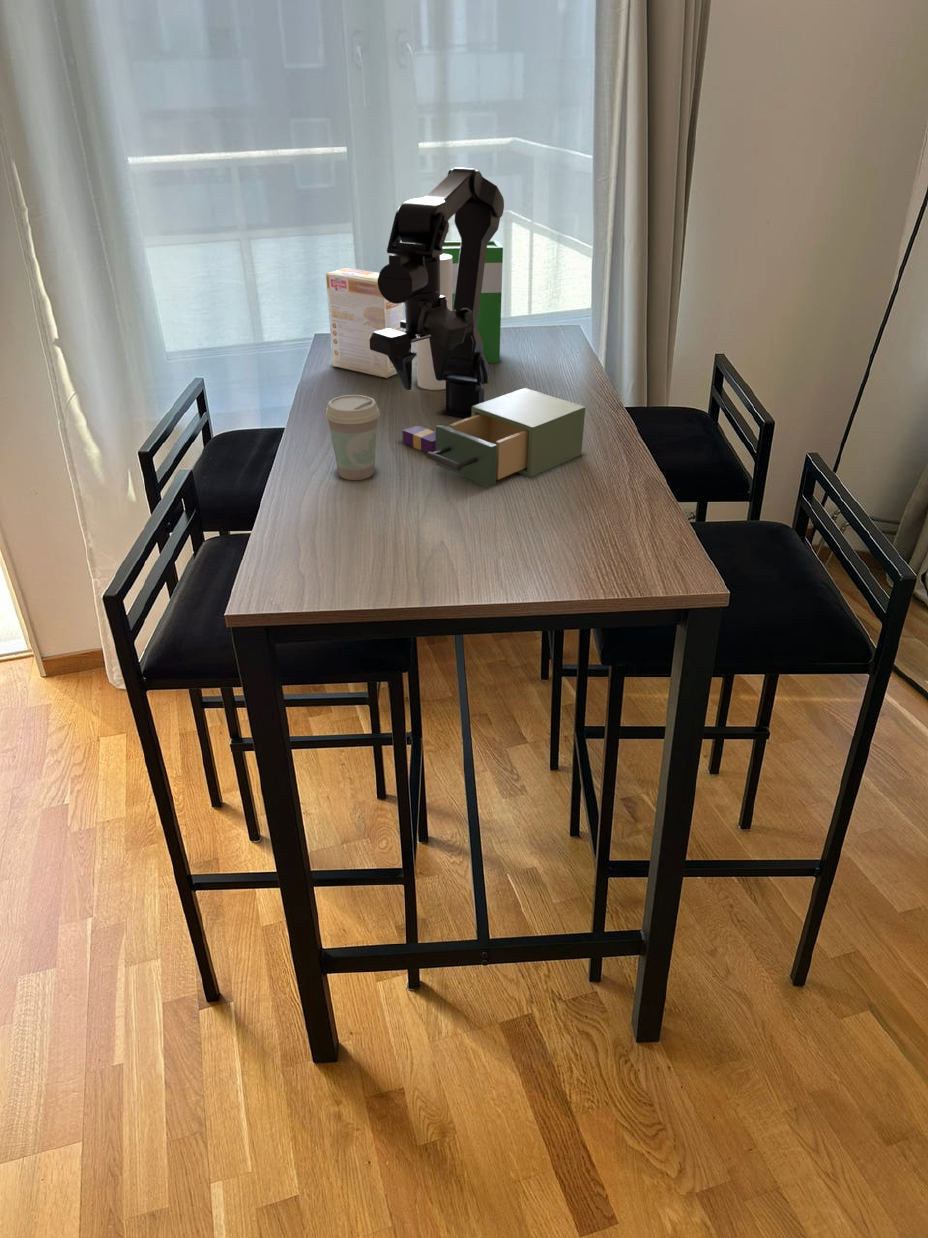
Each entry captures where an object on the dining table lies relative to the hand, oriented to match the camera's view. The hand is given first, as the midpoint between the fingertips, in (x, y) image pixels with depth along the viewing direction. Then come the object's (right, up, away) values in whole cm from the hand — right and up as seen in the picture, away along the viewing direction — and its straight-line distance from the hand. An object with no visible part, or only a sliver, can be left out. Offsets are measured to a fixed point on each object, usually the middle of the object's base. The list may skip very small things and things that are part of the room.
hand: (423, 384), depth 150 cm
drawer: (+9, -15, -4) cm, 18 cm away
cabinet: (+18, -11, +3) cm, 21 cm away
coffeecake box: (-14, +15, +43) cm, 47 cm away
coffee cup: (-11, -16, -4) cm, 20 cm away
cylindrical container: (+1, +9, +34) cm, 35 cm away
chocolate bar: (0, -9, +6) cm, 11 cm away
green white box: (+5, +19, +49) cm, 53 cm away
